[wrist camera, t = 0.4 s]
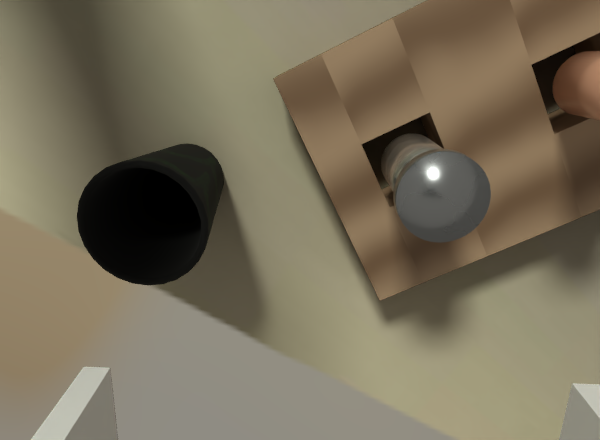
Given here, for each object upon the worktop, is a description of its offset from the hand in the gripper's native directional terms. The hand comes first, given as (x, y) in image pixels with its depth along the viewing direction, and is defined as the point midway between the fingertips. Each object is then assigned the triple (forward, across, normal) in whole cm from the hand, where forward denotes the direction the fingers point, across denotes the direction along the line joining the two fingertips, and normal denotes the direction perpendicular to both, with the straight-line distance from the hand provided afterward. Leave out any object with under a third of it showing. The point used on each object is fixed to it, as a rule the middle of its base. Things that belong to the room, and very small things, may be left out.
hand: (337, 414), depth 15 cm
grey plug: (+22, +6, +3) cm, 23 cm away
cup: (+28, -11, 0) cm, 30 cm away
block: (+28, +11, +6) cm, 30 cm away
